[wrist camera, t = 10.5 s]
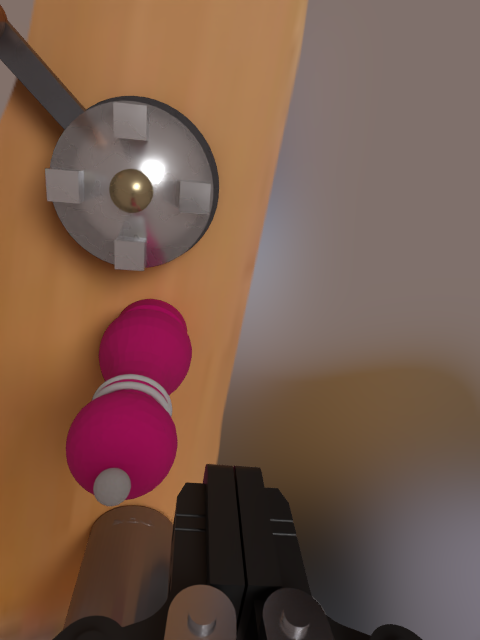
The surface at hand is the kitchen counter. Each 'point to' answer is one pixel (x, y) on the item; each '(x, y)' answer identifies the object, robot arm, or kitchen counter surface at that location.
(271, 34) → the kitchen counter surface
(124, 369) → the pepper mill
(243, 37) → the kitchen counter surface
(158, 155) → the crank handle
